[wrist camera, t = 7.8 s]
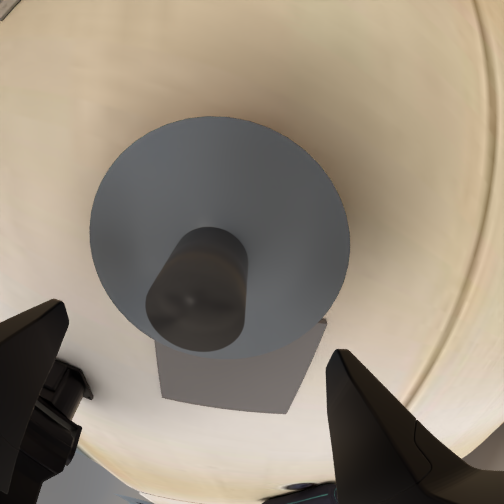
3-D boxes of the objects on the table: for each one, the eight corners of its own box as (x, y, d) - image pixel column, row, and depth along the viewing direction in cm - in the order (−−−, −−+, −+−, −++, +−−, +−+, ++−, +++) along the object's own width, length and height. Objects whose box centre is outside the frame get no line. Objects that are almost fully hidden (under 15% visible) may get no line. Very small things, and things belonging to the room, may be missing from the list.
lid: (307, 357, 17) (318, 421, 12) (111, 326, 16) (80, 381, 11) (371, 147, 11) (431, 162, 7) (100, 114, 11) (32, 117, 6)
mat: (285, 409, 27) (286, 414, 27) (163, 393, 27) (162, 397, 26) (325, 319, 21) (327, 324, 21) (153, 295, 21) (151, 299, 20)
